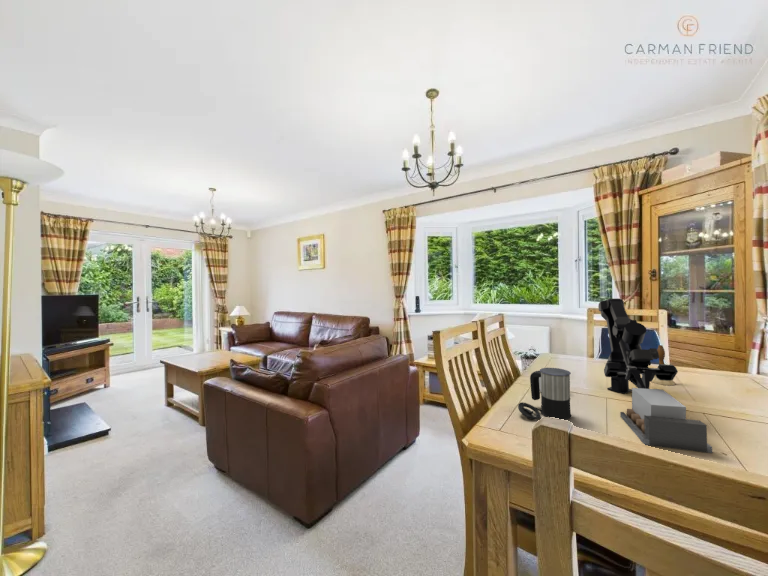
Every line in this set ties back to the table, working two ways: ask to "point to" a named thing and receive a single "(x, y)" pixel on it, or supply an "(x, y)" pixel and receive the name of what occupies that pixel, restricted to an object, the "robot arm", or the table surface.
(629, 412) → the roller
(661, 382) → the hand bell
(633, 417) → the roller
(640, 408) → the grey block
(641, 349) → the robot arm
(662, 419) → the conveyor frame
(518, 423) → the table surface
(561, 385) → the milk frother
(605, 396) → the table surface
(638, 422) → the roller
